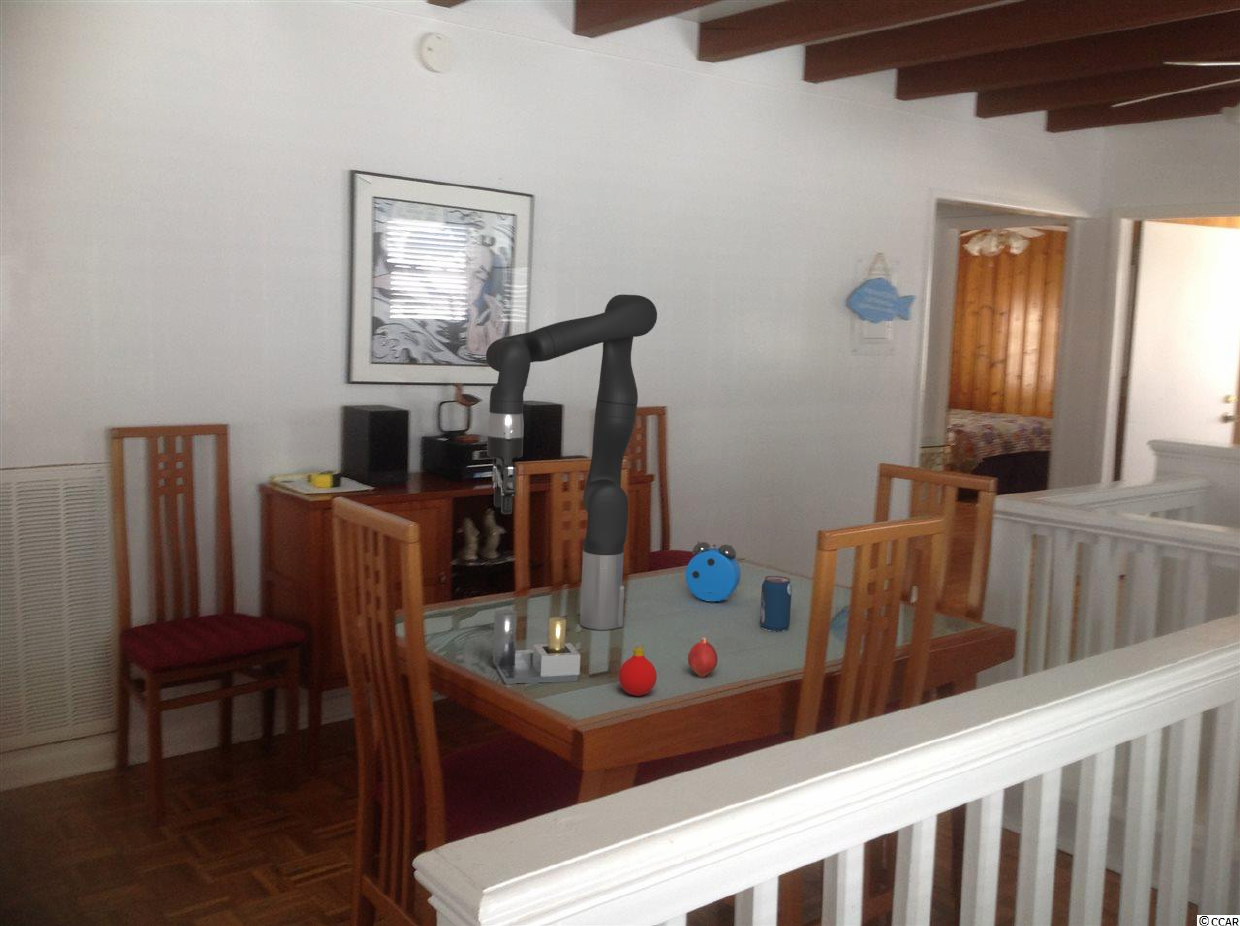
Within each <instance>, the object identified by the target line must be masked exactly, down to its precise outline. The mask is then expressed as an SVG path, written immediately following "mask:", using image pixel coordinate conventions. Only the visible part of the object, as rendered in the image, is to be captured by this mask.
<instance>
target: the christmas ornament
mask: <svg viewBox="0 0 1240 926" xmlns="http://www.w3.org/2000/svg"><path fill="white" fill-rule="evenodd" d="M638 644H641V645H642V647H637V645H638ZM632 651H633V655H632V656H631V657H630V658H628V659H626V660H625V661H624V662H623V663H622V664H621V666H620V668H619V671H618V682H619V684H620V687H621V688H622V690H624V691H625V692H626V694H629V695H632V696H636V697H637V696H644V695H646V694H649V692H651V691H652V690H653V688H654V687H655V685H656V683H657V679H658V678H657V676H658V675H657V674H658V673H657V670H656V668H655V666H654V664H653V662H651V660H648V658H647V657H645V649H644V644H643V643H642V642H640V641H639V642H636V643H635V646H634V648H633V650H632Z"/></svg>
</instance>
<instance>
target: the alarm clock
mask: <svg viewBox="0 0 1240 926" xmlns="http://www.w3.org/2000/svg"><path fill="white" fill-rule="evenodd" d="M691 550H692V554H693V555H694V556H693V557H692V558H691V559H690V561H689V562H688V564H687V566H686V569H685V581H686V584H687V587H688V589H689V591H690V592H691V594H692V595H694V596H695V597H696V598H697V599H699V600H701V599H702V600H701V601H703V600H709V601H718V602H721V601H723V600H725V598H727V599H728V597H729V596H730V595H732V594H733V592H735V591H736V589H737V588H738V586H739V585H740V584H739V583H740V581H741V568H740V565H739V563H738V561H737V558H736V557H737V549H736V548H735V547H734V546H733V544H731V545H730V544H729V543H723V544H720V546H719V547H718V545H717V544H712V546H711V544H710V543H709V542H708V541H697V543H695V544H694V545H693V547H692V549H691Z"/></svg>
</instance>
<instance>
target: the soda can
mask: <svg viewBox="0 0 1240 926" xmlns="http://www.w3.org/2000/svg"><path fill="white" fill-rule="evenodd" d="M792 591H793V585H792V583H791V579H790V578H789V577H786V576H783V575H782V576H781V575H780V576H779V575H768V576H765V577H764V581H763V583H762V585H761V597H760V609H759V611H760V612H759V625H760V627H761V629H762V628H764V629H767V630H771V631H783V630H786V629H788V628H789V626H790V621H791V608H792V607H791V606H792V595H793V594H792V593H793V592H792ZM764 629H763V630H764ZM786 631H787V630H786Z"/></svg>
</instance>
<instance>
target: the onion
mask: <svg viewBox="0 0 1240 926" xmlns="http://www.w3.org/2000/svg"><path fill="white" fill-rule="evenodd" d="M687 661H688V662H687V663H688V665H689V667H690V669H691V670H692V671H693V672H694V673H695V674H696V675H697V676H699V678H705V677H706V676H707V675H709V674H710V673H712V672H713V671H714V670H715V668H716V667H717V665H718V661H719V660H718V654H717V650H715V647H714V646H713V645H712V644H711V643H709V642H708V640H707V638H705V637H702V638H701V639H700V641H699V642H697V643H695V644H694V645H693V646H692V647H691V648H690V649H689V652H688V655H687Z"/></svg>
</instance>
